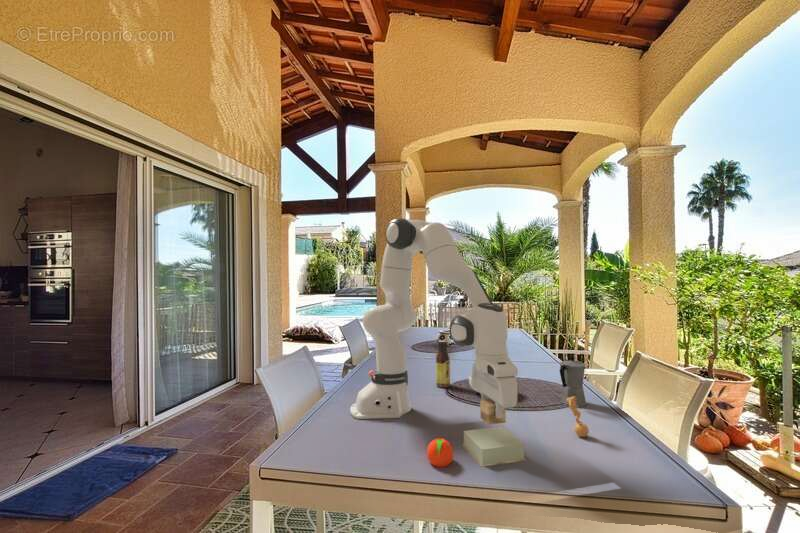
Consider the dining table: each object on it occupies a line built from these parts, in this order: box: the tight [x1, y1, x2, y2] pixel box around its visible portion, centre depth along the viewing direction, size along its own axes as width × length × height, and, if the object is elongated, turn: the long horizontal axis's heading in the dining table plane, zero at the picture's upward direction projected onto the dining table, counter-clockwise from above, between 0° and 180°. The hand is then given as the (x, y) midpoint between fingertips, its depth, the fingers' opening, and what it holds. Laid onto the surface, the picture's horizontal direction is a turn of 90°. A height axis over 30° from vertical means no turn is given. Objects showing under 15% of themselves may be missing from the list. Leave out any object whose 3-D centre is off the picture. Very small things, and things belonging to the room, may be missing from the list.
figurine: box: [567, 396, 590, 438], centre depth 119 cm, size 8×6×12 cm
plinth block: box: [463, 426, 525, 465], centre depth 106 cm, size 12×12×4 cm
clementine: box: [426, 437, 454, 468], centre depth 101 cm, size 8×7×7 cm
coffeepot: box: [559, 355, 587, 408], centre depth 147 cm, size 15×9×18 cm, turn 129°
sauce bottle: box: [435, 340, 451, 389], centre depth 172 cm, size 7×6×20 cm
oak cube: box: [479, 398, 507, 426], centre depth 107 cm, size 5×5×5 cm
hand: (492, 413), depth 107 cm, fingers closed on oak cube, 5 cm apart
